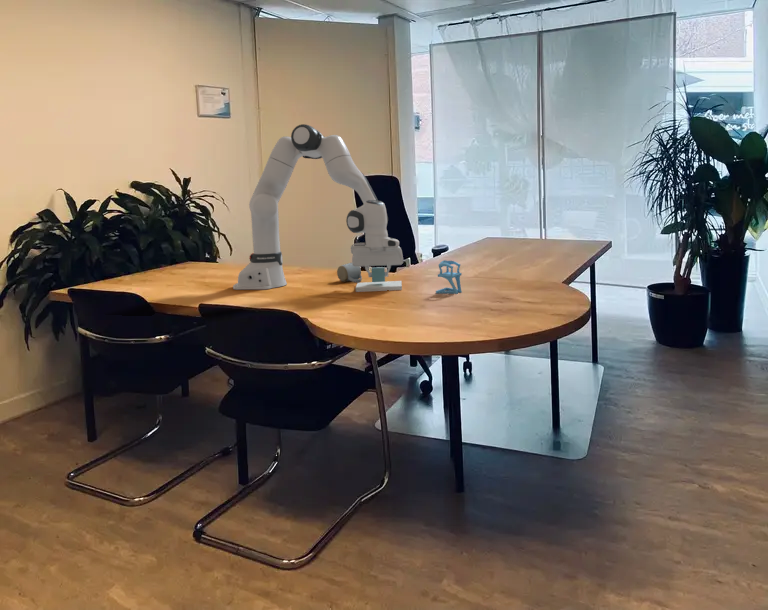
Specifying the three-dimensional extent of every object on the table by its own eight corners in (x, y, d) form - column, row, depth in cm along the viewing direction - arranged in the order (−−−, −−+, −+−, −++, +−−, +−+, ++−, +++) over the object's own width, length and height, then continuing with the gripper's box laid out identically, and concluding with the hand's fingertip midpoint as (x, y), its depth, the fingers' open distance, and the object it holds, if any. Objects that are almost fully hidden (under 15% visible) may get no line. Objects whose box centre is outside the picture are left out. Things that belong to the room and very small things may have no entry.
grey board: (355, 291, 253) (355, 288, 252) (357, 286, 264) (357, 282, 264) (401, 289, 252) (401, 286, 252) (401, 284, 264) (401, 280, 263)
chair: (454, 295, 237) (453, 262, 235) (435, 293, 242) (434, 261, 240) (465, 291, 243) (464, 259, 241) (446, 289, 248) (445, 258, 246)
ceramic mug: (336, 281, 279) (335, 263, 277) (350, 278, 284) (349, 261, 283) (352, 284, 271) (351, 266, 270) (366, 281, 277) (366, 263, 275)
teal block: (372, 282, 255) (371, 269, 254) (372, 279, 260) (371, 267, 259) (384, 281, 255) (384, 269, 254) (385, 279, 260) (384, 267, 259)
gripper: (349, 244, 252) (351, 279, 254) (402, 241, 251) (403, 277, 254) (351, 242, 258) (352, 276, 261) (402, 240, 257) (403, 274, 260)
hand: (378, 276), depth 257 cm, fingers closed on teal block, 5 cm apart
